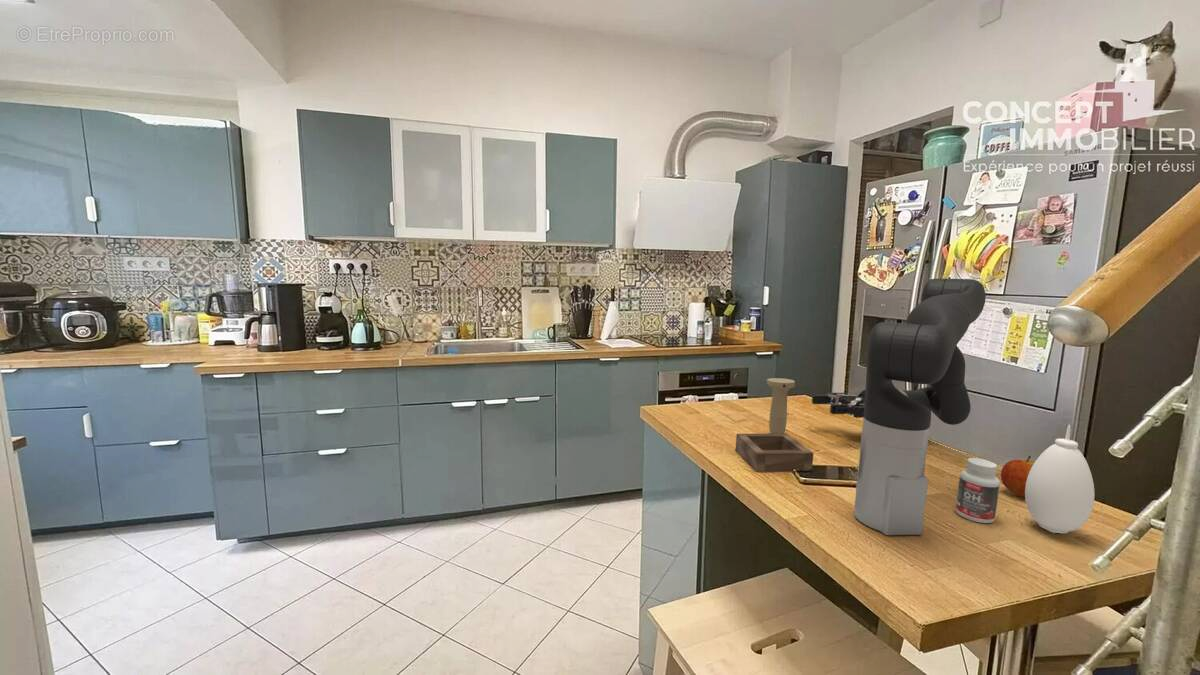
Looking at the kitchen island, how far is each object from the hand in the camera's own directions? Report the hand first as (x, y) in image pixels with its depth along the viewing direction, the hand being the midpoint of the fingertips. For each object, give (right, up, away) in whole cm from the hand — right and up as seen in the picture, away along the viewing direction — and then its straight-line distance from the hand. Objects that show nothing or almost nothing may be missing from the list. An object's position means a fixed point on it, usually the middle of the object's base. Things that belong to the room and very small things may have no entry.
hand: (821, 404), depth 118 cm
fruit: (+25, -14, -28) cm, 40 cm away
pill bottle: (+10, -15, -36) cm, 40 cm away
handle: (-11, -9, 0) cm, 14 cm away
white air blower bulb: (+19, -15, -40) cm, 47 cm away
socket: (-17, -11, -13) cm, 24 cm away
